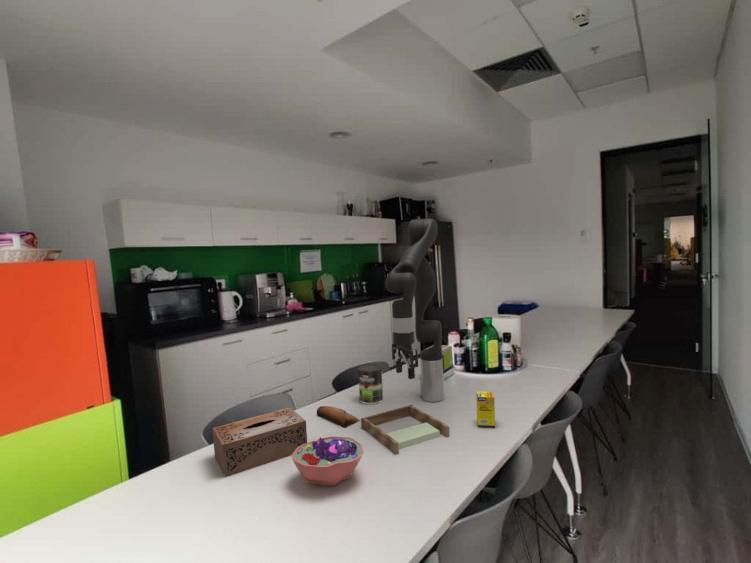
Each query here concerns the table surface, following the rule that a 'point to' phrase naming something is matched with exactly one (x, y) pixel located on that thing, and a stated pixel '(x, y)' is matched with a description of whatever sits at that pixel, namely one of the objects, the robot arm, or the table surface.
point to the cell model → (327, 459)
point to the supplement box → (485, 409)
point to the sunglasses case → (337, 415)
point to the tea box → (447, 361)
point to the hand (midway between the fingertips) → (405, 375)
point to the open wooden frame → (380, 418)
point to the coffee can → (370, 384)
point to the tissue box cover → (258, 440)
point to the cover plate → (414, 435)
